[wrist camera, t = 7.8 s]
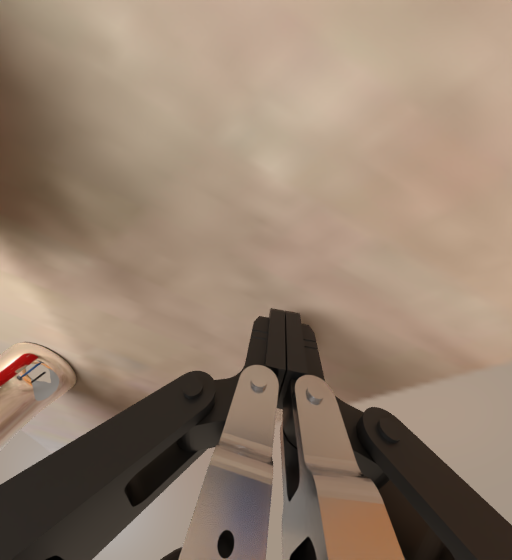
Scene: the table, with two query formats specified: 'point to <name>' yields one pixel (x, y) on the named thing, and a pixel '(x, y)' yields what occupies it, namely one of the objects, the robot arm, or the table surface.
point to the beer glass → (29, 385)
